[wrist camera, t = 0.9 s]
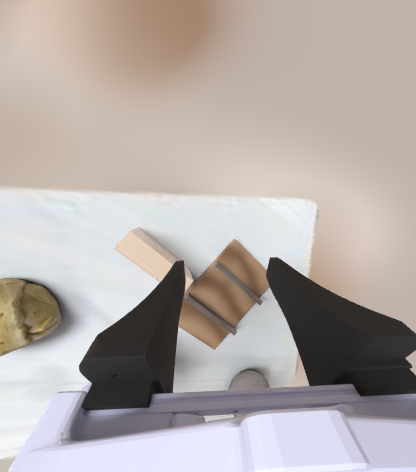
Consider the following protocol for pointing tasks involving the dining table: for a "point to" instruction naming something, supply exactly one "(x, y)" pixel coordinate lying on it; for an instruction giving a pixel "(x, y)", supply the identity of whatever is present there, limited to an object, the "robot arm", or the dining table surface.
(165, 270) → the beige rectangular block
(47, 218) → the dining table surface
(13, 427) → the dining table surface
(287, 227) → the dining table surface
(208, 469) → the robot arm
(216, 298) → the tan panel with rails
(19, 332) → the pastry
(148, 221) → the dining table surface
